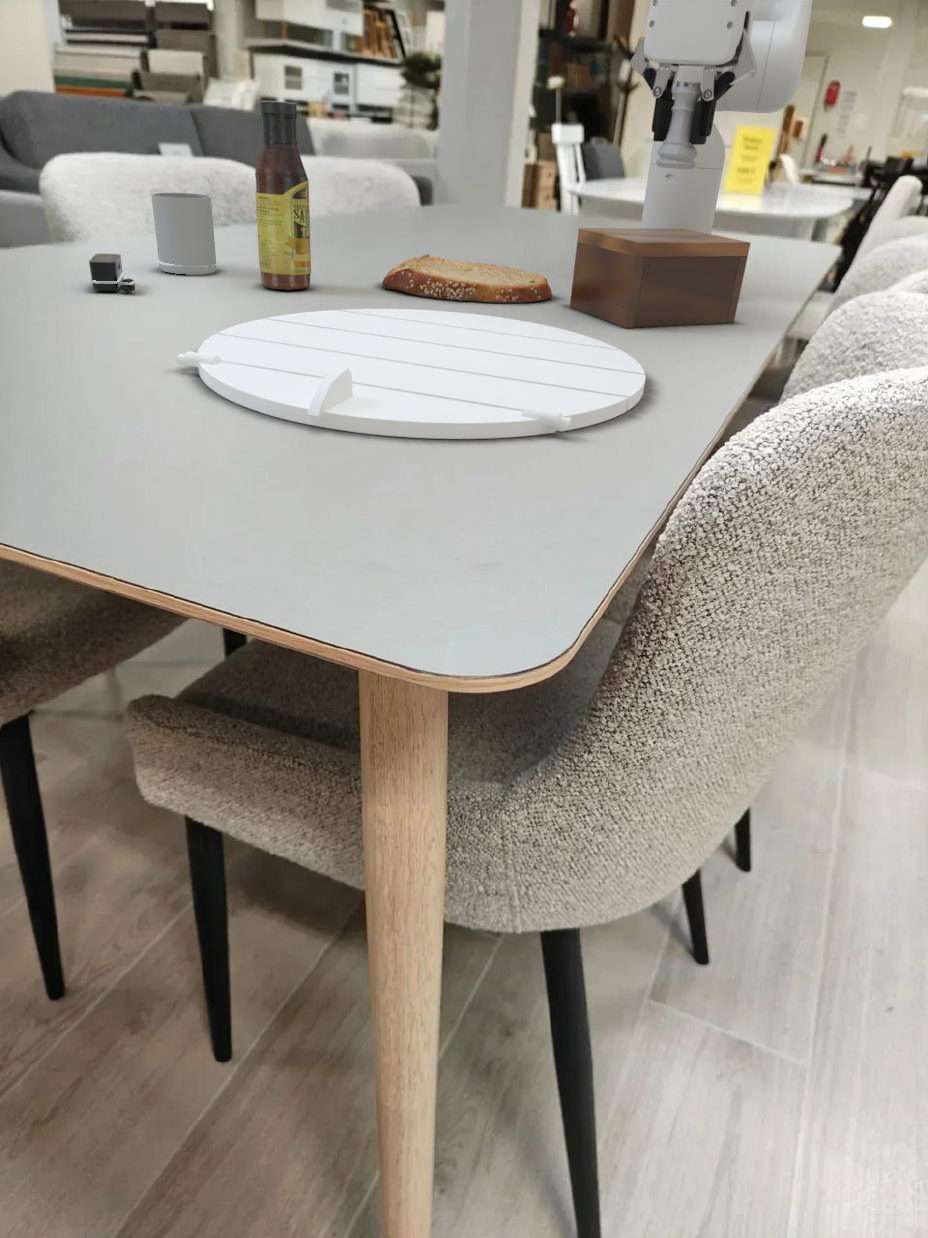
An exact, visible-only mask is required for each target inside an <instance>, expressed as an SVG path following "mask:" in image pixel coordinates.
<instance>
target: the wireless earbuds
mask: <svg viewBox="0 0 928 1238" xmlns="http://www.w3.org/2000/svg"><path fill="white" fill-rule="evenodd" d="M122 263H123V262H122V256H121V254H119V253H95V254H94V255H93V256H92V257H91V258H90V259H89V260H88V264H89V270H90V277H91V281H92V280H96V281H117V280H118V279H119V277H120V275H121V273H122V272H123V273H124V270H123V264H122ZM132 281H134V282H135V279H132V278H129V277H128V278H124V276H123V277H122V278H121V280H120V281H119V283H117V284H95V283H92V282H91V284H92V289H94V291H95V292H99V293H116V292H117V291H118V290H119V289H120V287H121V290H122V291H123V292H124V293H129V292H134V291H135V290H136V286H135V285H136V283H134V284H133V285H121V282H128V283H129V282H132Z"/></svg>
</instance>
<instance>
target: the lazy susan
mask: <svg viewBox="0 0 928 1238" xmlns="http://www.w3.org/2000/svg"><path fill="white" fill-rule="evenodd" d="M176 361H177V363H178V364H179V365H181V366H186V367H187V366H189V367H194V368H197V370H198V375H199V377H200V378H201V380H202V382H203V383H204V384H205V385H206V386H207V387H208V388H209V389H211V390H212V391H213V392H215V393H216V394H218V395H219V396H221V397H222V398H225V399H226V400H228V401H231V402H232V403H234V404H236V405H239V406H242V407H245V408H246V409H250V410H251V411H255V412H259V413H261V414H264V415H268V416H270V417H271V416H272V417H275V418H279V419H282V420H285V421H289V422H295V423H299V424H302V425H308V426H313V427H317V428H323V429H328V430H329V429H330V430H337V431H343V432H350V433H358V434H364V435H376V436H386V437H397V438H412V439H413V438H414V439H435V440H482V439H483V440H485V439H487V440H489V439H508V438H519V437H522V438H523V437H529V436H531V437H532V436H539V435H540V436H541V435H547V434H549V435H550V434H554V433H556V432H561V433H562V432H567V431H572V430H578V429H581V428H586V427H590V426H593V425H597V424H601V423H603V422H606V421H609V420H612V419H614V418H616V417H619V416H621V415H624V414H625V413H626V412H628V411H630V410H631V409H632V408H634V407H635V406H637V404H638V403H639V402H640V401H641V399H642V398H643V395H644V390H645V385H646V379H647V378H646V372H645V369H644V368H643V367H642V365H641V364H640V363H639V361H637V360H636V359H635V358H634V357H632V356H631V355H630V354H628V353H627V352H625V351H623V350H620V349H619V348H617V347H615V346H613V345H611V344H609V343H606V342H604V341H601V340H598V339H596V338H593V337H591V336H587V335H584V334H581V333H578V332H574V331H570V330H567V329H563V328H559V327H556V326H555V327H554V326H550V325H546V324H541V323H536V322H531V321H525V320H519V319H513V318H509V317H508V318H507V317H501V316H500V317H499V316H493V315H486V314H478V313H477V314H475V313H468V312H467V313H466V312H457V311H443V310H429V309H410V308H409V309H407V308H349V309H348V308H347V309H338V310H336V309H329V310H327V309H326V310H316V311H305V312H297V313H288V314H282V315H275V316H268V317H265V318H260V319H254V320H250V321H246V322H243V323H240V324H236V325H233V326H230V327H228V328H227V327H226V328H225V329H222V330H219V331H218V332H217V333H214V334H213V335H211V336H209V337H208V338H206V339H205V340H204V341H203V342H202V343H201V344H200V346H199V347H198V348H197V352H196V351H191V350H189V351H186V352H185V353H179V354H177V357H176Z"/></svg>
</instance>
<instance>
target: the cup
mask: <svg viewBox="0 0 928 1238" xmlns="http://www.w3.org/2000/svg"><path fill="white" fill-rule="evenodd" d="M150 196H151V205H152V213H153V214H152V215H153V223H154V231H155V239H156V240H155V241H156V247H157V256H158V261H159V260H160V261H162V262H164V263H169V264H174V265H183V266H208V267H173V266H166V265H162V264H160V263H159V262H158V264H159V269H160V270H161V269H162V270H164V271H167V272H171V273H177V274H186V275H185V276H205V275H206V276H207V275H211V274H214V273H215V272H216V271H217V255H216V254H217V253H216V241H215V231H214V218H213V217H214V216H213V206H212V205H213V204H212V197H211V195H207V194H199V193H190V192H189V193H188V192H156V193H151V195H150ZM215 264H216V265H215ZM212 265H213V266H212ZM162 270H161V271H162Z"/></svg>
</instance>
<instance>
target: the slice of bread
mask: <svg viewBox="0 0 928 1238" xmlns="http://www.w3.org/2000/svg"><path fill="white" fill-rule="evenodd" d="M381 284H382V287H383V288H385V289H386V290H392V291H398V292H401V293H402V292H403V293H406V294H410V295H413V296H418V297H423V298H434V299H441V300H449V301H461V302H481V303H495V304H496V303H497V304H499V303H503V304H504V303H509V304H510V303H514V304H516V303H532V302H533V303H534V302H540V301H545V300H549V299H552V298H553V292H552V289H551V287H550V285H549V282H548V279H547V277H545V276H543V275H542V274H540V273H538V272H533V271H529V270H523V269H519V268H512V267H507V266H504V265H496V264H489V263H483V262H472V261H462V260H457V259H456V260H455V259H447V258H442V257H439V256H430V254H429V253H428V254H424V255H422V256H420V257H417V256H416V257H413V258H412V259H409V260H406V261H403V262H402V263H400V264H399V265H397V266H395V267H394V268H392V269H390V270H389V271H388V273H387V274H386V275H385V276H384V278H383V280H382V283H381Z"/></svg>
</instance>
